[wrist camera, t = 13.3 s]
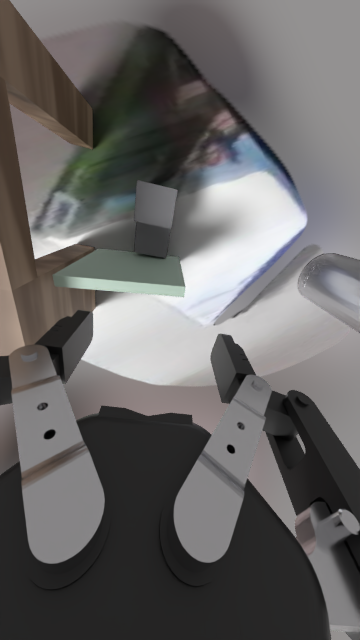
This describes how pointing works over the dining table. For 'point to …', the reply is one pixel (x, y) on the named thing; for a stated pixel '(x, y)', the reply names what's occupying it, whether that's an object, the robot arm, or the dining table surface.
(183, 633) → the robot arm
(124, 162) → the dining table surface
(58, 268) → the wall frame
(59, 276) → the door
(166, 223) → the grey stepped block
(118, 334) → the dining table surface
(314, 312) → the dining table surface
